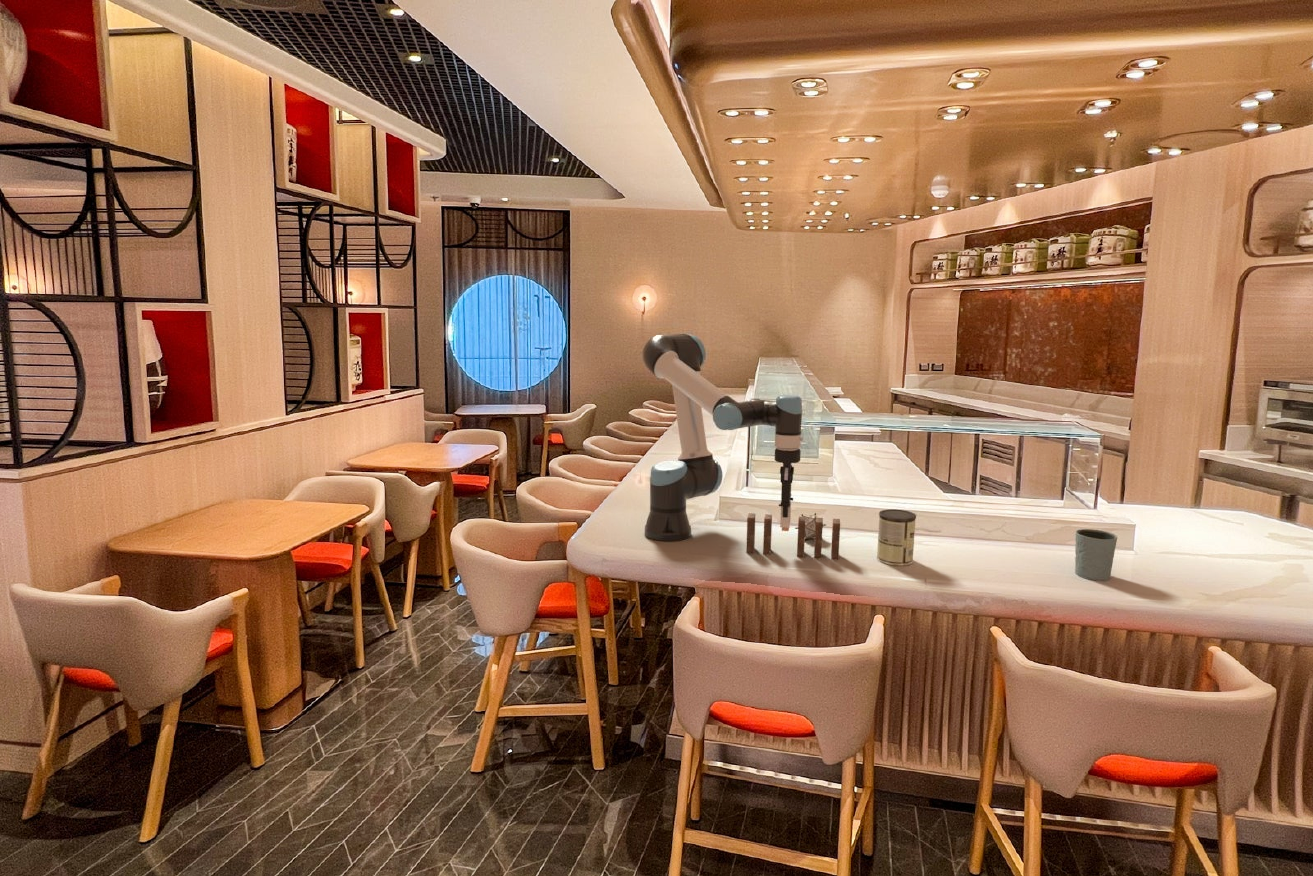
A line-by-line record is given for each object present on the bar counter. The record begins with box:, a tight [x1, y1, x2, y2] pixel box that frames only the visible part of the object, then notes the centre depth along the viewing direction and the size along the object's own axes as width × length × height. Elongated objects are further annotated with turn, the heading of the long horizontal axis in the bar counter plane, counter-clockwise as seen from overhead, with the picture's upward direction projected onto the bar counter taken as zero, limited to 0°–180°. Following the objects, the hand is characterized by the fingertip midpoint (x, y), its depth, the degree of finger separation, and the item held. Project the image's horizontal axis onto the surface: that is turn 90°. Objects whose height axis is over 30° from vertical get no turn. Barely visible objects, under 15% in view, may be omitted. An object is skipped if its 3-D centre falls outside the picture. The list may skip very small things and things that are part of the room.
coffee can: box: [876, 508, 917, 567], centre depth 223 cm, size 10×10×14 cm
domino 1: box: [745, 512, 756, 554], centre depth 230 cm, size 2×5×11 cm, turn 168°
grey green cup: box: [1074, 528, 1118, 582], centre depth 212 cm, size 10×10×12 cm
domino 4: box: [796, 516, 806, 558], centre depth 227 cm, size 2×5×11 cm, turn 168°
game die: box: [794, 512, 827, 541], centre depth 243 cm, size 9×8×10 cm
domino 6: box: [830, 518, 841, 561], centre depth 225 cm, size 2×5×11 cm, turn 168°
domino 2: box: [762, 514, 773, 555], centre depth 229 cm, size 2×5×11 cm, turn 168°
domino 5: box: [813, 517, 824, 559], centre depth 226 cm, size 2×5×11 cm, turn 168°
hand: (785, 524), depth 228 cm, fingers closed on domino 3, 5 cm apart
